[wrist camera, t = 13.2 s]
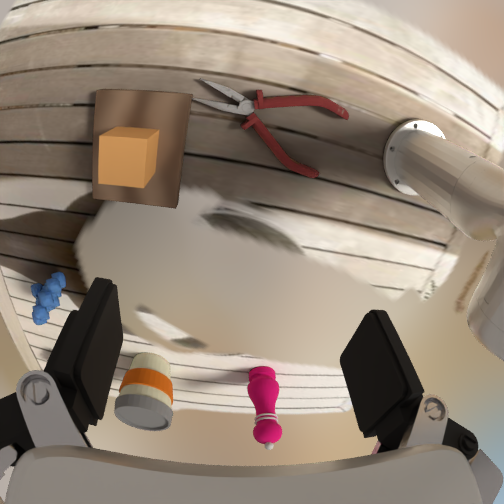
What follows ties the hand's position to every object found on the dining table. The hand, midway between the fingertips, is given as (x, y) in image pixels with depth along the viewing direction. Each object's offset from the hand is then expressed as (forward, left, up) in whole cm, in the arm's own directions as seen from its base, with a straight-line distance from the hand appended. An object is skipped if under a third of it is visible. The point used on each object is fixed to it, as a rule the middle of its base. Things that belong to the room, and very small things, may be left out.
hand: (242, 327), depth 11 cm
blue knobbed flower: (+30, +29, -34) cm, 54 cm away
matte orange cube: (+13, +3, -31) cm, 34 cm away
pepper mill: (-15, +51, -34) cm, 63 cm away
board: (+13, +3, -33) cm, 36 cm away
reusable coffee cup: (+11, +52, -34) cm, 63 cm away
